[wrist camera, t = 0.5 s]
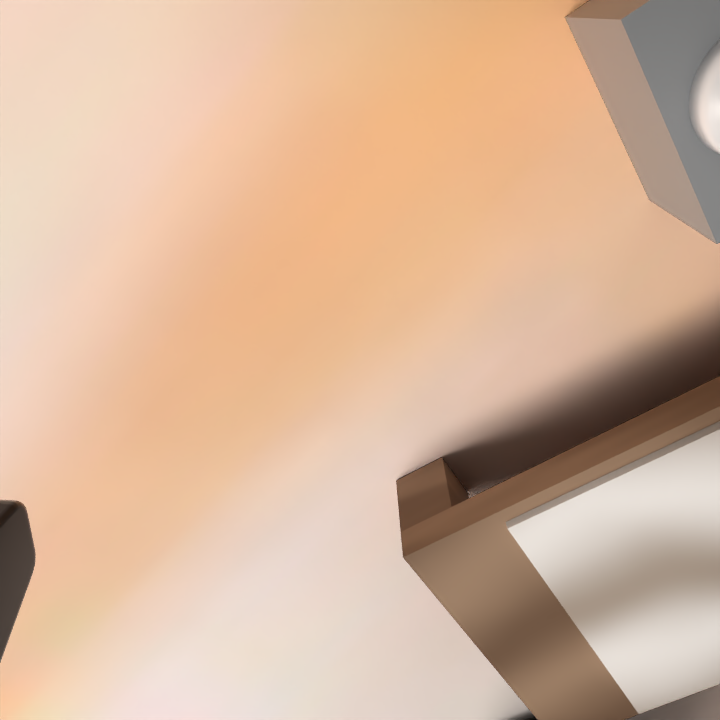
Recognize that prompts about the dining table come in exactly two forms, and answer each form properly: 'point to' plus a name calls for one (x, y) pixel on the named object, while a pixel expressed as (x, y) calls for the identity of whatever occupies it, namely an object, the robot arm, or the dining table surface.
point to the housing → (661, 96)
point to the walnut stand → (586, 564)
